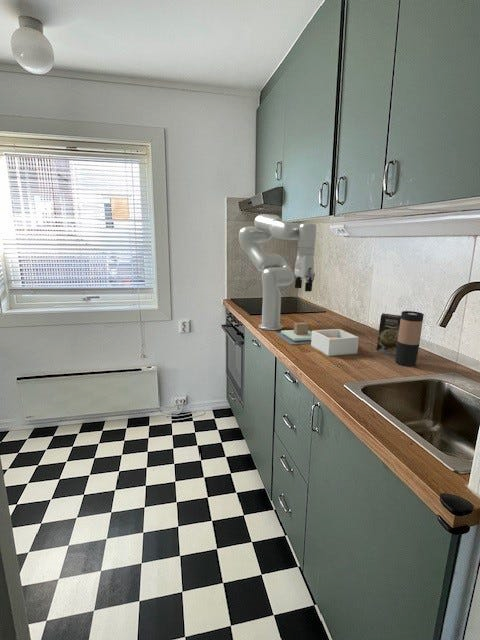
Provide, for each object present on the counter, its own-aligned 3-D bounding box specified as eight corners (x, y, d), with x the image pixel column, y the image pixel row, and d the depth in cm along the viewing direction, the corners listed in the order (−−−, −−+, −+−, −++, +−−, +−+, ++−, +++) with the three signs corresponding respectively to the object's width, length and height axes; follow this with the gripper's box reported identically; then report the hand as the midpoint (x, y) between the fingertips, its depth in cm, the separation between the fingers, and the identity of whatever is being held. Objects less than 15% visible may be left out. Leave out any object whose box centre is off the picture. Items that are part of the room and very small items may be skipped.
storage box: (310, 345, 152) (312, 330, 151) (338, 343, 156) (339, 328, 155) (328, 356, 139) (329, 339, 138) (357, 353, 144) (358, 337, 142)
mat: (275, 334, 169) (275, 333, 169) (307, 332, 175) (307, 331, 175) (291, 345, 152) (291, 344, 152) (326, 342, 158) (326, 341, 158)
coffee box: (375, 352, 145) (380, 315, 142) (377, 348, 151) (381, 312, 147) (399, 356, 141) (404, 318, 137) (400, 352, 147) (405, 315, 143)
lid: (280, 334, 168) (281, 320, 166) (306, 332, 172) (307, 319, 171) (293, 342, 155) (294, 327, 153) (321, 340, 159) (322, 326, 158)
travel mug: (391, 359, 137) (397, 310, 132) (409, 360, 137) (416, 311, 132) (400, 366, 129) (408, 315, 125) (420, 366, 130) (428, 315, 125)
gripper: (289, 250, 161) (287, 287, 165) (307, 252, 145) (304, 292, 149) (304, 251, 163) (301, 286, 168) (323, 253, 148) (319, 292, 152)
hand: (303, 289), depth 158 cm, fingers open, 9 cm apart
